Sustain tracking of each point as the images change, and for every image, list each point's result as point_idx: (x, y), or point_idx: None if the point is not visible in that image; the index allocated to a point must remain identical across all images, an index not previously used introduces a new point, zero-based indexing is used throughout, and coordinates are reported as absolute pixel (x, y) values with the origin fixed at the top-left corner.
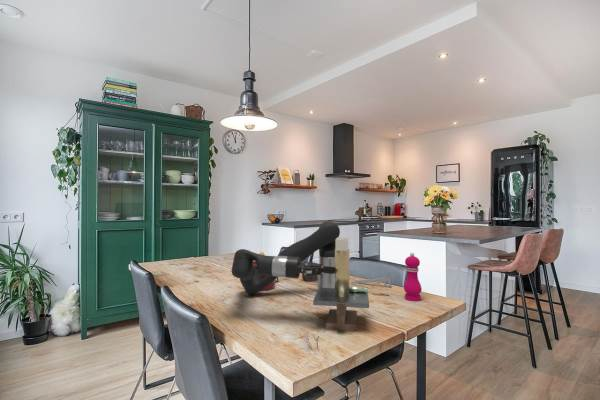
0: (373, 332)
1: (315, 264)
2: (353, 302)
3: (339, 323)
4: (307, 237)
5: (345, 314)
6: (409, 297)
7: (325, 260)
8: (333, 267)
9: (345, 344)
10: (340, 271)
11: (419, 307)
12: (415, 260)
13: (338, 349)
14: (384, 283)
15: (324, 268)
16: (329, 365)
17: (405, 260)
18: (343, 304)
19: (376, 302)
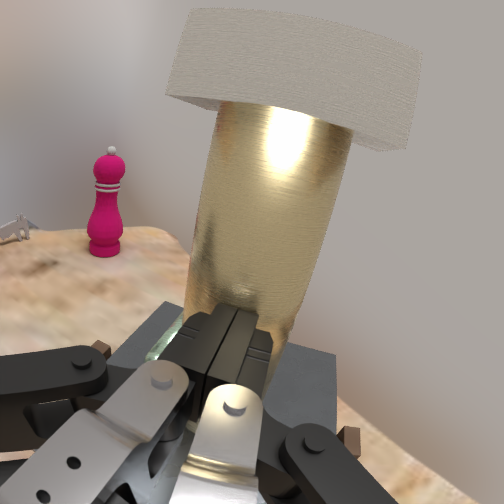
0: None
1: (186, 485)
2: (332, 394)
3: None
4: None
5: None
6: (108, 251)
7: None
8: (254, 315)
9: (376, 478)
10: (297, 313)
11: (152, 266)
12: (123, 163)
13: (404, 491)
14: (16, 234)
15: (259, 397)
16: (464, 494)
17: (100, 166)
18: (358, 431)
19: (77, 300)
